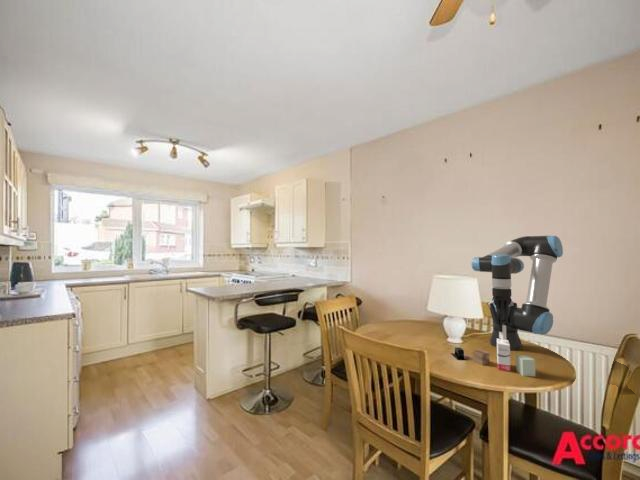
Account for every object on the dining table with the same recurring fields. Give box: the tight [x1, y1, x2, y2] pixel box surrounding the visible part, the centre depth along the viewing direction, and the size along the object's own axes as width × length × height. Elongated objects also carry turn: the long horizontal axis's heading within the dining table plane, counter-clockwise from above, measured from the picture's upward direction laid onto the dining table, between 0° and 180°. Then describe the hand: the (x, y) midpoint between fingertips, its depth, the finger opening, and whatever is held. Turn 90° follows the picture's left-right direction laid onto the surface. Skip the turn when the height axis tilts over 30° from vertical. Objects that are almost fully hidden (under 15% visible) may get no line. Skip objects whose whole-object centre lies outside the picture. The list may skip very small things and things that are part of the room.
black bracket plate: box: [450, 347, 469, 361], centre depth 145 cm, size 12×7×5 cm, turn 177°
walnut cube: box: [472, 349, 491, 366], centre depth 138 cm, size 5×5×5 cm
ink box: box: [496, 339, 512, 372], centre depth 132 cm, size 8×5×12 cm, turn 152°
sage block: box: [515, 354, 536, 377], centre depth 125 cm, size 5×5×7 cm
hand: (502, 338), depth 132 cm, fingers closed
